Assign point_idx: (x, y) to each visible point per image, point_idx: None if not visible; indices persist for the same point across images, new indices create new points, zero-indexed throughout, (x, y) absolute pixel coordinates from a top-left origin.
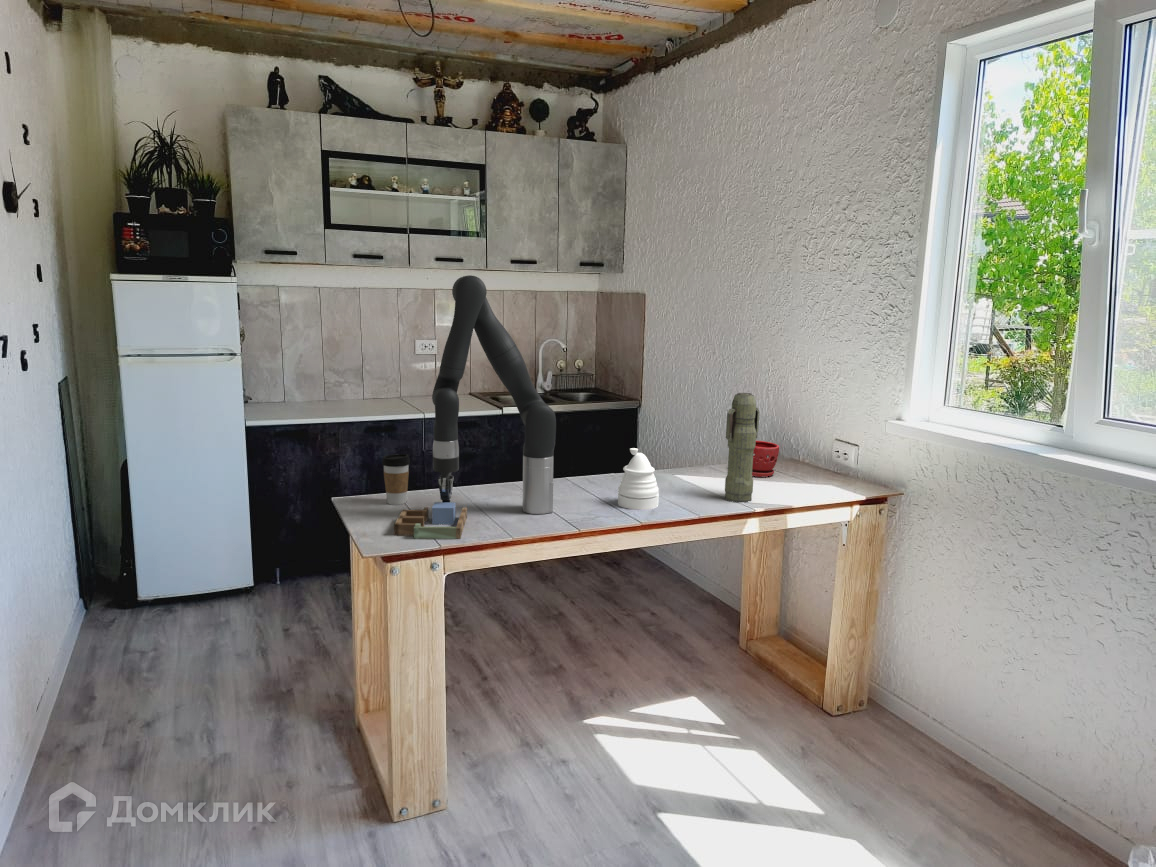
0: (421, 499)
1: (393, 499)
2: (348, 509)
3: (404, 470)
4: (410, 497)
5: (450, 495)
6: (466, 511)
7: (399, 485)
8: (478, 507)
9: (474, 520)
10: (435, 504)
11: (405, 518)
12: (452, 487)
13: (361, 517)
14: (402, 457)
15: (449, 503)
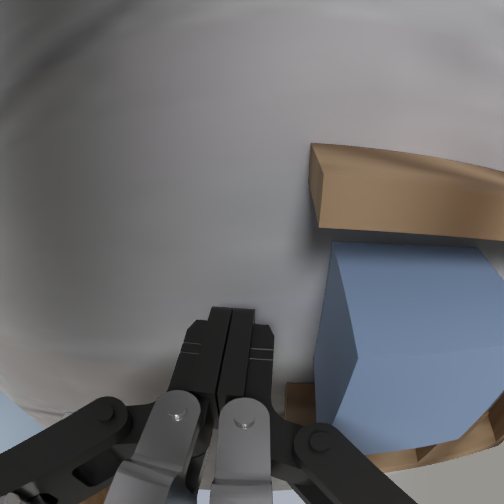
0: (27, 374)
1: None
2: (201, 488)
3: None
4: (30, 393)
5: (187, 429)
6: (372, 167)
7: (96, 494)
8: (11, 98)
9: (410, 74)
10: (381, 448)
11: (448, 450)
12: (121, 496)
13: (276, 483)
14: None
15: (388, 394)
